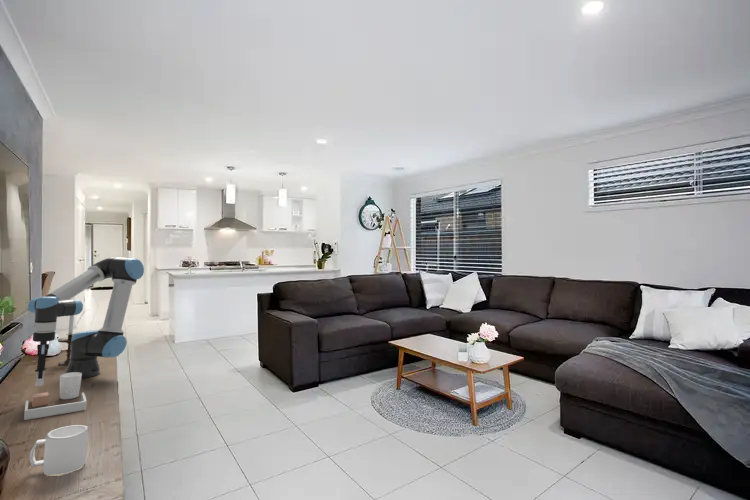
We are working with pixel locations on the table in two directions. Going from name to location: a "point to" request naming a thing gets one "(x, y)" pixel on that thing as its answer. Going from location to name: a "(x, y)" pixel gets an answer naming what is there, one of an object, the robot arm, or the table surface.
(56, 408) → the frame
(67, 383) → the white cup
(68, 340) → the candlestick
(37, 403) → the salmon pink block
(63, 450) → the mug
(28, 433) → the table surface
